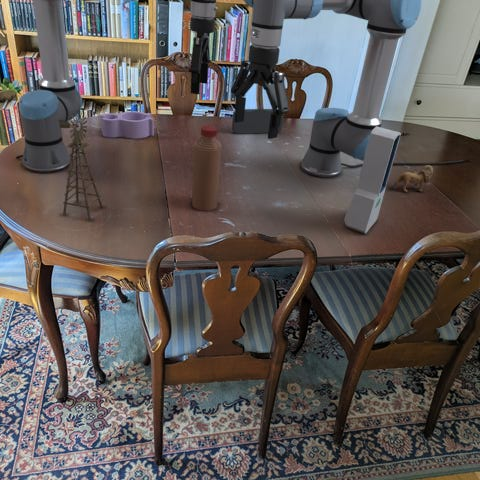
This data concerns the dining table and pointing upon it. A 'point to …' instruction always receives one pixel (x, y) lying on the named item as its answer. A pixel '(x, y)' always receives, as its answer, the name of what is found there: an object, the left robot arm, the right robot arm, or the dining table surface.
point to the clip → (127, 125)
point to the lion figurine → (415, 178)
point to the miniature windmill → (73, 145)
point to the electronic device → (372, 179)
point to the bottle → (206, 173)
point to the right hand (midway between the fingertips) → (255, 129)
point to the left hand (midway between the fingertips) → (199, 88)
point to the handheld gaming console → (254, 121)
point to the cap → (208, 131)
